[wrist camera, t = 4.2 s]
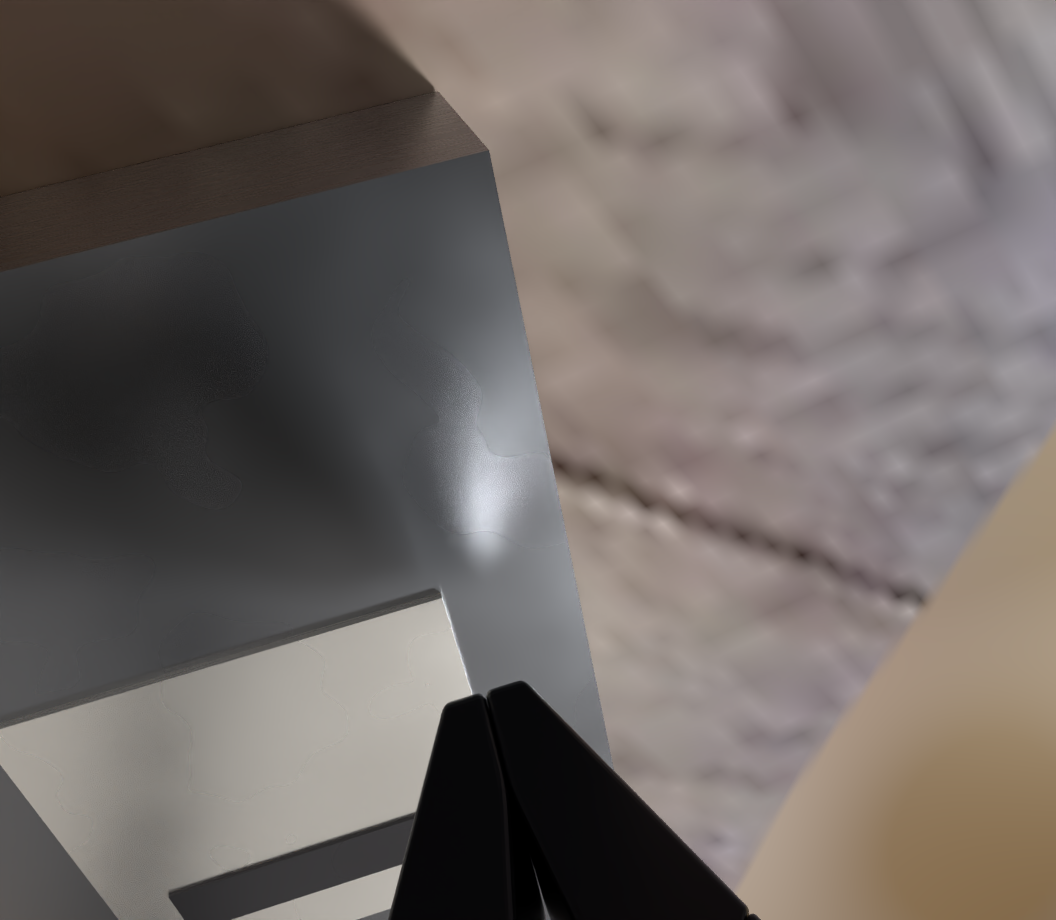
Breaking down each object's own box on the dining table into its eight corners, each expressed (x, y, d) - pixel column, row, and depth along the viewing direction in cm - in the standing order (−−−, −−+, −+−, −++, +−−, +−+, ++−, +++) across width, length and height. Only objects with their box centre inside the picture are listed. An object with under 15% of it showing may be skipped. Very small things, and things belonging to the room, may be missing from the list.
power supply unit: (629, 946, 20) (683, 1105, 17) (-121, 1202, 19) (-189, 1420, 16) (437, 91, 10) (493, 155, 8) (-1178, 481, 9) (-1811, 731, 6)
